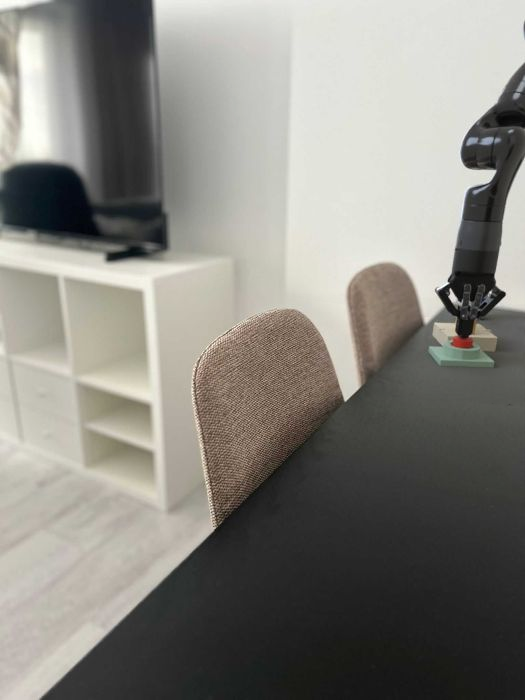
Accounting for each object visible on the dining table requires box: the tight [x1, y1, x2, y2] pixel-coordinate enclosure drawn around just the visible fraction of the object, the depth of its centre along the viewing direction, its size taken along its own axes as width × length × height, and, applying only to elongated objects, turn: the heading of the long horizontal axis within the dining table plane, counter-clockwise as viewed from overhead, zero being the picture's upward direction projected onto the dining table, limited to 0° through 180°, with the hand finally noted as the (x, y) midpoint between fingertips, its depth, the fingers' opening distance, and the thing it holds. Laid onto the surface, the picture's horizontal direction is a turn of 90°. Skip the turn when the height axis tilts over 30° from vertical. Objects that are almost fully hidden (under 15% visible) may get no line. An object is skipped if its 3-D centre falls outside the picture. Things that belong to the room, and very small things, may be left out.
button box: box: [428, 340, 495, 368], centre depth 99 cm, size 10×8×3 cm
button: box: [452, 336, 473, 349], centre depth 99 cm, size 4×4×2 cm
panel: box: [432, 321, 498, 352], centre depth 109 cm, size 11×11×3 cm
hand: (462, 336), depth 98 cm, fingers closed
